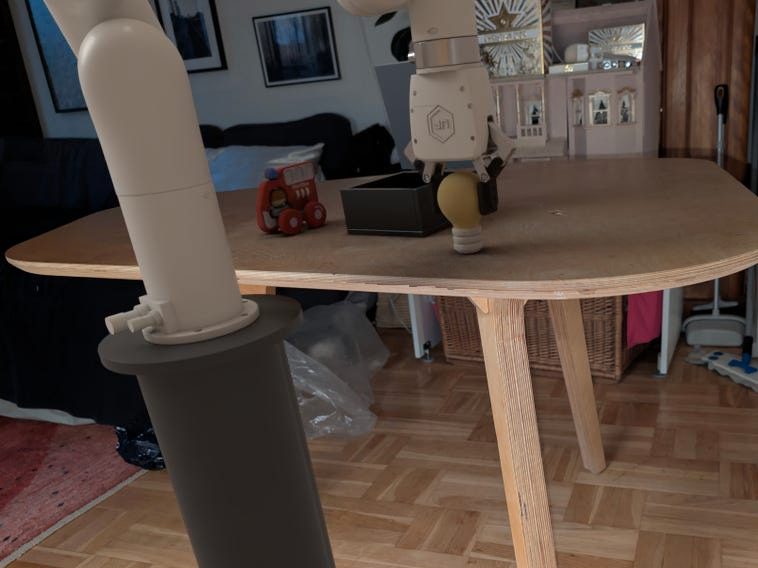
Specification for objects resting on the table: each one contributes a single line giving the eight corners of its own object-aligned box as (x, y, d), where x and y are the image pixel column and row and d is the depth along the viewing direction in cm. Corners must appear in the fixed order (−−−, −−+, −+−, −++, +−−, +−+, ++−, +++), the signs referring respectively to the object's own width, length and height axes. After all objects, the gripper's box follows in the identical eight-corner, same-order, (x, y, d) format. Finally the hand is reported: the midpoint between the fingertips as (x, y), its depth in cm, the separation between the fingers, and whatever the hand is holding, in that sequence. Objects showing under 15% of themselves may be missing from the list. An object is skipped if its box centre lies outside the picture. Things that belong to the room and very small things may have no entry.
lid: (451, 56, 100) (469, 47, 103) (373, 66, 108) (392, 57, 111) (475, 167, 109) (491, 156, 112) (401, 169, 116) (418, 158, 120)
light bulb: (489, 256, 86) (481, 173, 82) (439, 259, 87) (428, 177, 83) (497, 243, 92) (490, 165, 88) (450, 246, 93) (441, 169, 89)
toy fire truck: (250, 238, 113) (234, 172, 109) (308, 220, 122) (296, 159, 118) (277, 240, 109) (262, 172, 105) (336, 222, 118) (324, 158, 114)
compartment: (423, 237, 100) (416, 189, 97) (347, 234, 108) (339, 189, 105) (481, 213, 112) (476, 169, 109) (409, 212, 119) (403, 171, 117)
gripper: (369, 66, 82) (392, 218, 89) (494, 51, 73) (509, 221, 80) (408, 63, 88) (427, 206, 95) (528, 48, 79) (540, 207, 86)
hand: (464, 211), depth 88 cm, fingers closed on light bulb, 6 cm apart
